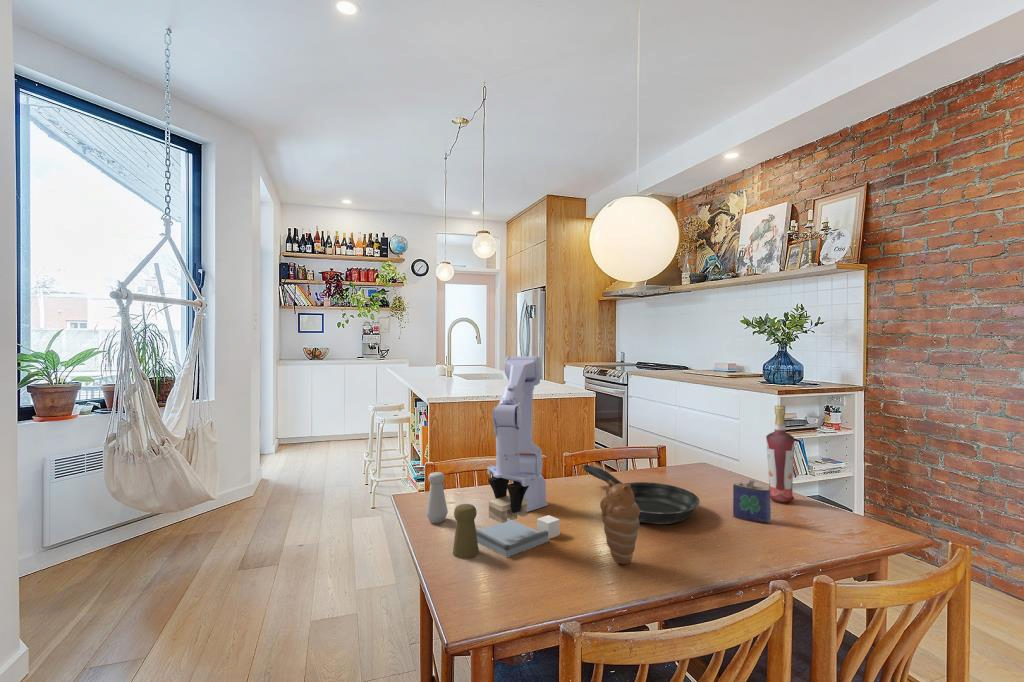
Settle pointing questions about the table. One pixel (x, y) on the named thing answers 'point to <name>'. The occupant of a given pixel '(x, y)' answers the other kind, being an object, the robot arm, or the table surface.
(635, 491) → the frying pan
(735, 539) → the table surface
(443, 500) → the salt shaker
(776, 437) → the liquor
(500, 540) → the dock
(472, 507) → the pepper shaker
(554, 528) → the white cube
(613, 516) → the cat ice cream
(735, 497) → the flask
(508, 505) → the block
